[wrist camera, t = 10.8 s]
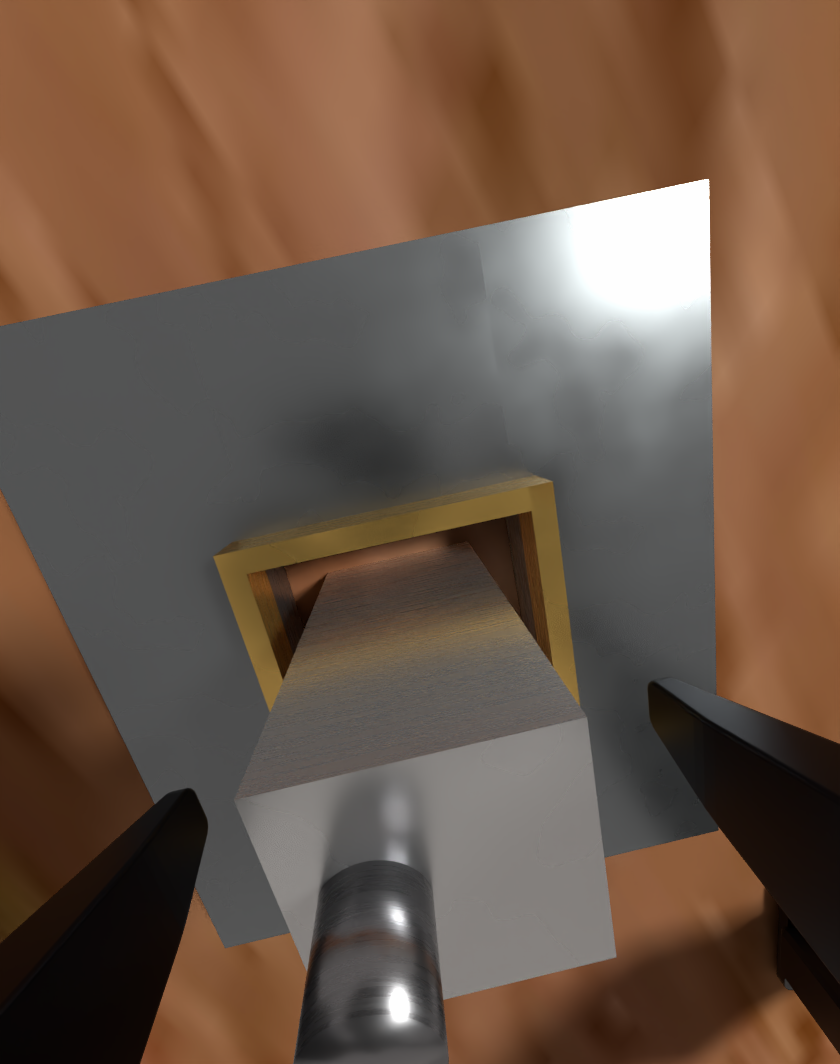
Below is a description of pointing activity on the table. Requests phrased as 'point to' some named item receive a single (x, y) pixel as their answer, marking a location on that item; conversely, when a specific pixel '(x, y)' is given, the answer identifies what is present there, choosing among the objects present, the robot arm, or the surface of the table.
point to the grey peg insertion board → (381, 484)
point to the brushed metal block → (423, 808)
